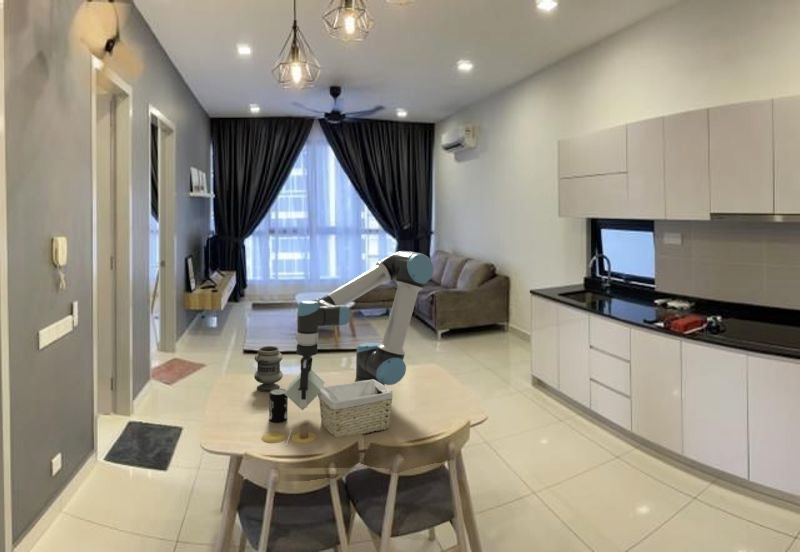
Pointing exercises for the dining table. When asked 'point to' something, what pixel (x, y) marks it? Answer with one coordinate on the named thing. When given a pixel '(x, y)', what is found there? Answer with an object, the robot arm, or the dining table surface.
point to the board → (298, 437)
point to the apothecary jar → (268, 368)
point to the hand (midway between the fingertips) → (305, 401)
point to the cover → (313, 388)
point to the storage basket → (355, 407)
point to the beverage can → (278, 406)
